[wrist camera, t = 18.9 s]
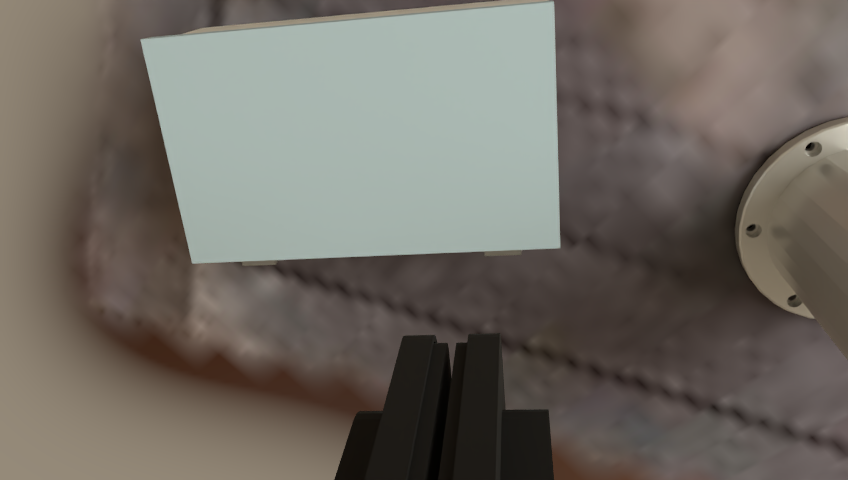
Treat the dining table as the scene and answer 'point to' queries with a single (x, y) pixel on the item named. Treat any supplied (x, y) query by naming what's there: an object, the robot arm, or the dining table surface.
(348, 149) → the lid
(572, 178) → the dining table surface
